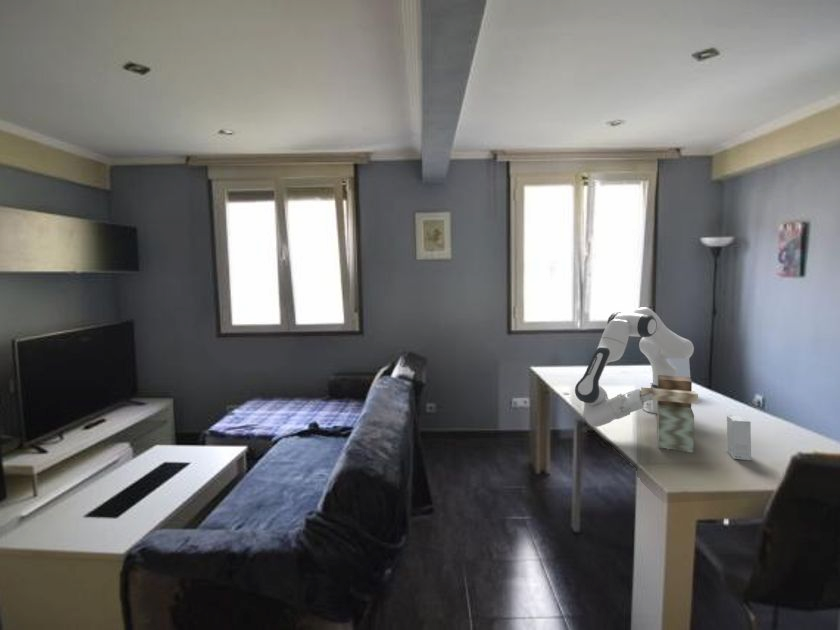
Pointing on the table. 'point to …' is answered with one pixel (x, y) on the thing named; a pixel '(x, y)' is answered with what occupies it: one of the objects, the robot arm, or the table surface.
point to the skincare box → (739, 437)
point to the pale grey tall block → (681, 366)
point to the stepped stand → (675, 416)
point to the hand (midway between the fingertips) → (652, 393)
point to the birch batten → (671, 395)
